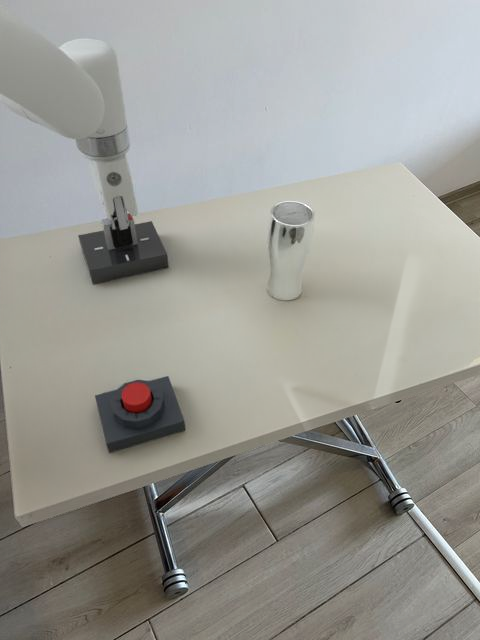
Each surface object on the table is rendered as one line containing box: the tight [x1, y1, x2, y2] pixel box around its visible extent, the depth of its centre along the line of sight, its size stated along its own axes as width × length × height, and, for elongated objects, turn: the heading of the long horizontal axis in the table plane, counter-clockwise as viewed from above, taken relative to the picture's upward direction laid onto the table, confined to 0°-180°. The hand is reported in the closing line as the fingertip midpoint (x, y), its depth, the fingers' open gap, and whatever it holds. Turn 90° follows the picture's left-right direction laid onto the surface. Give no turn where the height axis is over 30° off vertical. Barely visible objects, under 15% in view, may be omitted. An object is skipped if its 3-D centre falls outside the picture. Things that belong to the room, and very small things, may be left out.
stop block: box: [94, 375, 186, 454], centre depth 70 cm, size 10×8×4 cm
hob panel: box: [78, 220, 170, 285], centre depth 92 cm, size 13×10×3 cm
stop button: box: [121, 383, 152, 413], centre depth 68 cm, size 4×4×2 cm
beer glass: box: [266, 200, 315, 302], centre depth 84 cm, size 7×7×15 cm
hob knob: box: [100, 212, 138, 250], centre depth 89 cm, size 5×2×5 cm, turn 113°
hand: (121, 241), depth 90 cm, fingers closed, pressing on hob knob
